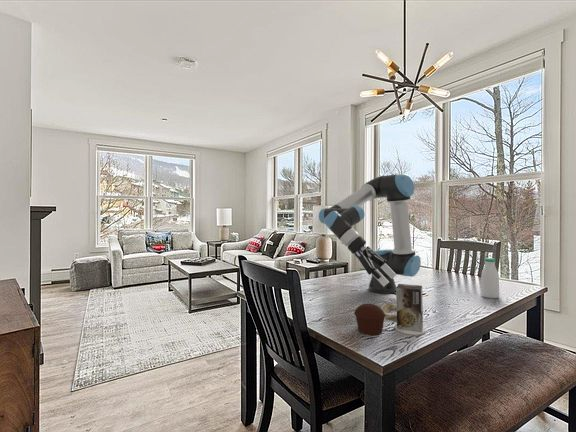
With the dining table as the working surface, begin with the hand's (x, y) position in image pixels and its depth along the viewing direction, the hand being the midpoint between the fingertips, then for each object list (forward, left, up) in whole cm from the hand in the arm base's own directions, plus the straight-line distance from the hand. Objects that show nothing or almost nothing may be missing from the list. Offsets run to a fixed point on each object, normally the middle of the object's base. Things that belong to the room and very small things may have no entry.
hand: (390, 280), depth 124 cm
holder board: (0, +15, -18) cm, 23 cm away
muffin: (-6, -9, -18) cm, 21 cm away
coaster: (+7, 0, -18) cm, 19 cm away
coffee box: (+7, 0, -18) cm, 19 cm away
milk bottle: (+35, +66, -18) cm, 77 cm away
